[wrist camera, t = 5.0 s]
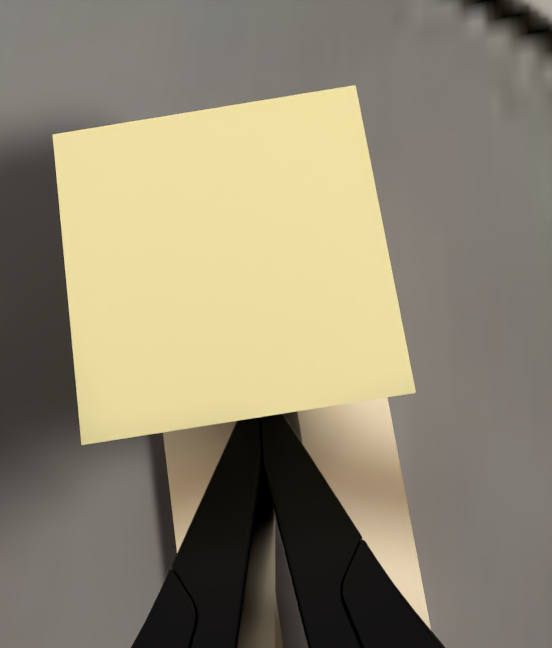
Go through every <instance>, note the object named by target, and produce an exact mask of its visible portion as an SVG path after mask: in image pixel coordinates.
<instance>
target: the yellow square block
mask: <svg viewBox="0 0 552 648" xmlns="http://www.w3.org/2000/svg"><path fill="white" fill-rule="evenodd" d="M53 145H54V155H55V166H56V177H57V187H58V198H59V209H60V220H61V230H62V241H63V252H64V262H65V273H66V284H67V295H68V305H69V316H70V327H71V337H72V348H73V359H74V370H75V380H76V391H77V402H78V412H79V423H80V434H81V445H86V444H92V443H99V442H105V441H111V440H118V439H124V438H130V437H137V436H143V435H150V434H156V433H162V432H169V431H175V430H181V429H188V428H194V427H201V426H207V425H213V424H220V423H226V422H232V421H239V420H245V419H252V418H258V417H264V416H271V415H277V414H283V413H290V412H296V411H303V410H309V409H315V408H322V407H328V406H334V405H341V404H347V403H354V402H360V401H366V400H373V399H379V398H386V397H392V396H398V395H405V394H411V393H416V391H415V386H414V381H413V376H412V371H411V366H410V361H409V356H408V350H407V345H406V340H405V335H404V330H403V325H402V320H401V315H400V310H399V305H398V299H397V294H396V289H395V284H394V279H393V274H392V269H391V264H390V259H389V254H388V249H387V243H386V238H385V233H384V228H383V223H382V218H381V213H380V208H379V203H378V198H377V193H376V187H375V182H374V177H373V172H372V167H371V162H370V157H369V152H368V147H367V142H366V137H365V131H364V126H363V121H362V116H361V111H360V106H359V101H358V96H357V91H356V86H355V85H354V86H348V87H342V88H335V89H329V90H323V91H317V92H311V93H305V94H299V95H292V96H286V97H280V98H274V99H268V100H262V101H256V102H249V103H243V104H237V105H231V106H225V107H219V108H213V109H206V110H200V111H194V112H188V113H182V114H176V115H170V116H163V117H157V118H151V119H145V120H139V121H133V122H127V123H120V124H114V125H108V126H102V127H96V128H90V129H84V130H77V131H71V132H65V133H59V134H53Z"/></svg>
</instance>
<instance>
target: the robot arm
mask: <svg viewBox="0 0 552 648" xmlns="http://www.w3.org/2000/svg"><path fill="white" fill-rule="evenodd" d="M275 516H276V520H277V524H278V529H279V533H280V537H281V541H282V545H283V549H284V553H285V557H286V561H287V565H288V570H289V574H290V578H291V582H292V586H293V590H294V594H295V598H296V602H297V606H298V611H299V615H300V619H301V623H302V627H303V631H304V635H305V639H306V643H307V647H308V648H445V647H444V646H443V644H442V643H441V642H440V641H439V639H438V638H437V637H436V636H435V635H434V633H433V632H432V631H431V630H430V629H429V627H428V626H427V625H426V624H425V622H424V621H423V620H422V619H421V618H420V616H419V615H418V614H417V613H416V612H415V610H414V609H413V608H412V606H411V605H410V604H409V603H408V601H407V600H406V599H405V597H404V596H403V595H402V594H401V592H400V591H399V590H398V588H397V587H396V586H395V584H394V583H393V582H392V580H391V579H390V577H389V576H388V574H387V573H386V572H385V570H384V569H383V567H382V566H381V564H380V563H379V561H378V560H377V558H376V557H375V555H374V554H373V552H372V551H371V549H370V548H369V546H368V545H367V543H366V541H365V540H362V536H361V534H360V532H359V531H358V529H357V528H356V526H355V525H354V523H353V522H352V520H351V518H350V517H349V515H348V514H347V512H346V511H345V509H344V507H343V506H342V504H341V503H340V501H339V500H338V498H337V497H336V495H335V493H334V492H333V490H332V489H331V487H330V486H329V484H328V483H327V481H326V479H325V478H324V476H323V475H322V473H321V472H320V470H319V468H318V467H317V465H316V464H315V462H314V461H313V459H312V458H311V456H310V454H309V453H308V451H307V450H306V448H305V447H304V445H303V444H302V442H301V440H300V439H299V437H298V436H297V434H296V433H295V431H294V429H293V428H292V426H291V425H290V423H289V422H288V420H287V419H286V417H285V415H284V414H277V415H271V416H264V417H258V418H252V419H245V420H239V421H236V424H235V426H234V428H233V430H232V432H231V435H230V437H229V439H228V441H227V444H226V446H225V448H224V450H223V453H222V455H221V457H220V459H219V461H218V464H217V466H216V468H215V470H214V473H213V475H212V477H211V479H210V481H209V484H208V486H207V488H206V490H205V493H204V495H203V497H202V499H201V501H200V504H199V506H198V508H197V510H196V513H195V515H194V517H193V519H192V521H191V524H190V526H189V528H188V530H187V533H186V535H185V537H184V539H183V542H182V544H181V546H180V548H179V550H178V553H177V555H176V557H175V559H174V562H173V564H172V568H173V569H171V570H169V572H168V574H167V577H166V579H165V581H164V583H163V586H162V588H161V590H160V592H159V594H158V596H157V598H156V600H155V603H154V605H153V607H152V609H151V611H150V613H149V615H148V617H147V619H146V621H145V623H144V625H143V627H142V628H141V630H140V632H139V634H138V636H137V638H136V639H135V641H134V643H133V645H132V647H131V648H275Z"/></svg>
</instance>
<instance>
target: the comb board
mask: <svg viewBox="0 0 552 648" xmlns="http://www.w3.org/2000/svg"><path fill="white" fill-rule="evenodd" d="M283 414H284V415H285V417H286V419H287V420H288V422H289V423H290V425H291V426H292V428H293V429H294V431H295V433H296V434H297V436H298V437H299V439H300V440H301V442H302V444H303V445H304V447H305V448H306V450H307V451H308V453H309V454H310V456H311V458H312V459H313V461H314V462H315V464H316V465H317V467H318V468H319V470H320V472H321V473H322V475H323V476H324V478H325V479H326V481H327V483H328V484H329V486H330V487H331V489H332V490H333V492H334V493H335V495H336V497H337V498H338V500H339V501H340V503H341V504H342V506H343V507H344V509H345V511H346V512H347V514H348V515H349V517H350V518H351V520H352V522H353V523H354V525H355V526H356V528H357V529H358V531H359V532H360V534H361V536H362V540H365V541H366V543H367V545H368V546H369V548H370V549H371V551H372V552H373V554H374V555H375V557H376V558H377V560H378V561H379V563H380V564H381V566H382V567H383V569H384V570H385V572H386V573H387V574H388V576H389V577H390V579H391V580H392V582H393V583H394V584H395V586H396V587H397V588H398V590H399V591H400V592H401V594H402V595H403V596H404V597H405V599H406V600H407V601H408V603H409V604H410V605H411V606H412V608H413V609H414V610H415V612H416V613H417V614H418V615H419V616H420V618H421V619H422V620H423V621H424V622H425V624H426V625H427V626H428V627H429V629H430V630H431V628H430V622H429V617H428V612H427V606H426V601H425V596H424V590H423V585H422V580H421V574H420V569H419V564H418V558H417V553H416V548H415V542H414V537H413V532H412V526H411V521H410V516H409V510H408V505H407V500H406V494H405V489H404V484H403V478H402V473H401V468H400V462H399V457H398V452H397V446H396V441H395V436H394V430H393V425H392V420H391V414H390V409H389V404H388V398H387V397H386V398H379V399H373V400H366V401H360V402H354V403H347V404H341V405H334V406H328V407H322V408H315V409H309V410H303V411H296V412H290V413H283ZM235 424H236V421H232V422H226V423H220V424H213V425H207V426H201V427H194V428H188V429H181V430H175V431H169V432H163V438H164V446H165V455H166V463H167V472H168V480H169V488H170V497H171V505H172V514H173V522H174V531H175V539H176V548H177V553H178V550H179V548H180V546H181V544H182V542H183V539H184V537H185V535H186V533H187V530H188V528H189V526H190V524H191V521H192V519H193V517H194V515H195V513H196V510H197V508H198V506H199V504H200V501H201V499H202V497H203V495H204V493H205V490H206V488H207V486H208V484H209V481H210V479H211V477H212V475H213V473H214V470H215V468H216V466H217V464H218V461H219V459H220V457H221V455H222V453H223V450H224V448H225V446H226V444H227V441H228V439H229V437H230V435H231V432H232V430H233V428H234V426H235ZM275 648H308V647H307V643H306V639H305V635H304V631H303V627H302V623H301V619H300V615H299V611H298V606H297V602H296V598H295V594H294V590H293V586H292V582H291V578H290V574H289V570H288V565H287V561H286V557H285V553H284V549H283V545H282V541H281V537H280V533H279V529H278V524H277V520H276V516H275Z"/></svg>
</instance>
